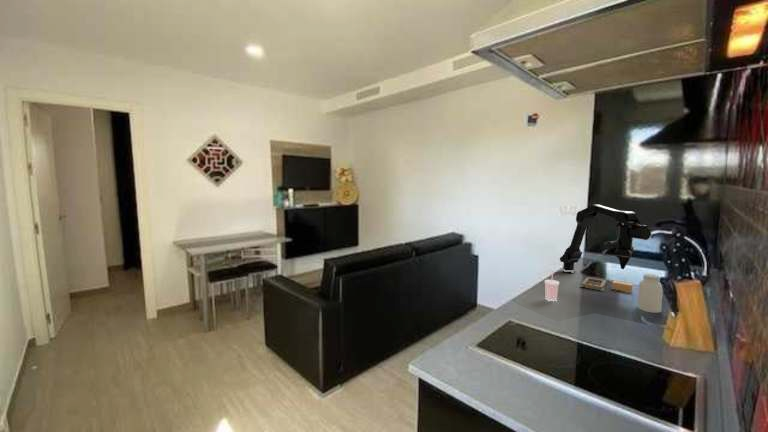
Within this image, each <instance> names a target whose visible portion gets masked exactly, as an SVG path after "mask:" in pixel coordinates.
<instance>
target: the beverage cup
mask: <svg viewBox="0 0 768 432" xmlns="http://www.w3.org/2000/svg"><path fill="white" fill-rule="evenodd" d="M553 278H554V270H551V279H545V280H544V284H545V286H544V290H545V291H544V292H545V295H544V296H545V299H546V300H548V301H547V302H549V301H553V302H552V303H555V302H554V301H556V302H557V300H558V291H559V285H560V281H559V280H555V279H553ZM545 299H544V300H545ZM546 300H545V301H546Z"/></svg>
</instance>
